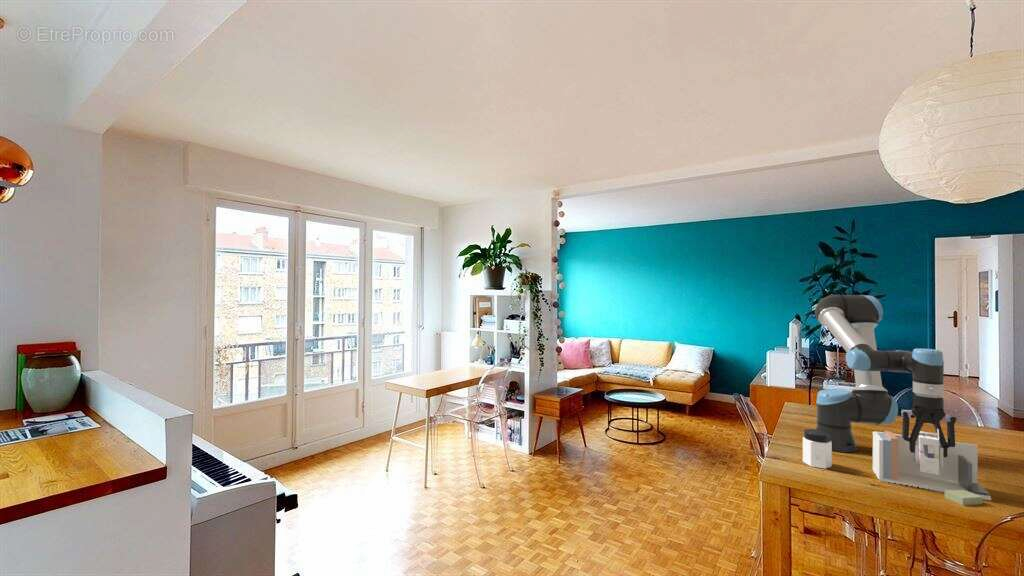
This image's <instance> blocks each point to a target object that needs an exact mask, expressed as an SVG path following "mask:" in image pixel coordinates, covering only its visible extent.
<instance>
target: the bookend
mask: <svg viewBox="0 0 1024 576" xmlns="http://www.w3.org/2000/svg"><path fill="white" fill-rule="evenodd" d="M958 482H959V483H960V484H961V485H962V486H963V487H964V488H965V489H966V490H967V491H969V492H974V493H980V494H985V495H989V496H991V493H990V492H989V491H988V490H986V489H985V488H984V487H983V486H982V485H981V484H980V483H978V484H977V483H972V463H970V462H969V461H968V460H967V459H966V458H965V457H963V456H961V455H958Z"/></svg>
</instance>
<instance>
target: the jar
mask: <svg viewBox="0 0 1024 576" xmlns="http://www.w3.org/2000/svg"><path fill="white" fill-rule="evenodd" d="M832 453H833V451H832V441H830V434H829V433H828V432H825V431H822V430H817V429H815V428H806V429H804V430H803V437H802V462H803V463H804V464H806V465H808V466H809V467H813V468H819V469H823V470H826V469H828V468H829V469H830V468H831V467H832V465H833V463H832V462H833V460H832V459H833V456H832V455H833V454H832Z"/></svg>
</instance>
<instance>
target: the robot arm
mask: <svg viewBox="0 0 1024 576" xmlns="http://www.w3.org/2000/svg"><path fill="white" fill-rule="evenodd" d="M814 314H815V318H816V320H818V321H817V322H819V323H820V325H822V326H824V327H826V328H827V330H828V331H829V332H830V333H831V335H832V336H833V337H834V338H835V339H836V341H837V342H838V343H839V344H840V346H841V347H842V348H843V350H844V351H845V352H846V353H845V362H846V366H847V367H848V369H851V370H853V374H854V381H855V386H854V387H853V388H852V390H848V389H845V388H844V389H843V388H826V389H821V390H819V391H818V392H817V396H816V401H815V402H816V426H815V428H814V429H817V430H822V431H825V432H828V433H829V434H830V441H832V452H838V453H840V452H841V453H854V452H857V451H858V448H857V446H858V445H857V442H856V439H855V437H854V434H853V431H852V424H853V423H855V424H857V423H858V424H870V425H889V424H892V423H893V422H894V421H895V420H896V418H897V416H898V412H899V411H898V410H899V408H898V402H897V400H896V399H895V397H894V396H892V395H890V394H889V391H888V389H886V388H885V387H884V386H883V383H882V376H881V375H882V374H881V372H892V373H908V374H912V393H913V394H912V407H911V408H910V409H909V410H904V409H902V410H901V411H900V413H901V416H902V428H901V429H902V430H901V432H902V433H901V435H902V438H903V439H904V440H905V441H908V442H909V450H910V452H911V453H913V461H914V462H915V463H916V464H919V445H918V444H917V443H916V440H917V438H918V435H919V433H920V431H922V430H921V429H922V427H923V426H924V424H931V425H932V426H933V428H934V430H935V434H936V433H938V432H937V428H938V430H939V441H940V444H941V446H939V467H941V468H943V457H946V458H947V449H948V448H949V447H955V442H956V433H955V432H956V431H955V423H956V421H957V418H956V417H955V416H954V415H953V414H951V415H950V414H948V413H947V414H946V412H945V410H944V404H945V402H944V400H945V399H944V397H943V396H944V373H945V372H944V367H945V366H944V364H945V361H944V354H943V352H942V350H939V349H935V348H934V349H932V348H918V347H917V348H914V349H913V350H912V351H910V350H904V349H903V350H902V349H896V350H881V349H880V350H878V349H877V342H876V337H875V335H876V334H875V328H877V326H879V324H878V323H879V322H881V321H882V320H883V315H884V310H883V307H882V304H881V302H880V300H879V299H878V298H876V297H875V296H873V295H864V294H844V295H843V294H842V295H841V294H831V295H828V296H826V297H823V298H822V299H821V300H819V301H818V303H817V304H816V306H815V309H814ZM912 415H913V416H914V418H915V421H914V422H915V423H914V426H913V429H912V431H911V433H910V418H911V417H912ZM944 418H945V419H944ZM943 419H944V420H945V421H946V432H947V433H946V436H947V440H946V437H945V434H944V432H943V429H942V426H941V423H940V422H941V421H942V420H943ZM909 436H910V438H909ZM946 441H948V442H946Z"/></svg>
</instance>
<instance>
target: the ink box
mask: <svg viewBox="0 0 1024 576" xmlns="http://www.w3.org/2000/svg"><path fill="white" fill-rule="evenodd" d="M937 432H938V433H936V432H935V433H934V432H928V431H923V430H920V433H919V435H918V445H919V464H918V467H919V470H920V472H924V473H930V474H935V475H939V430H938V428H937Z"/></svg>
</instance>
